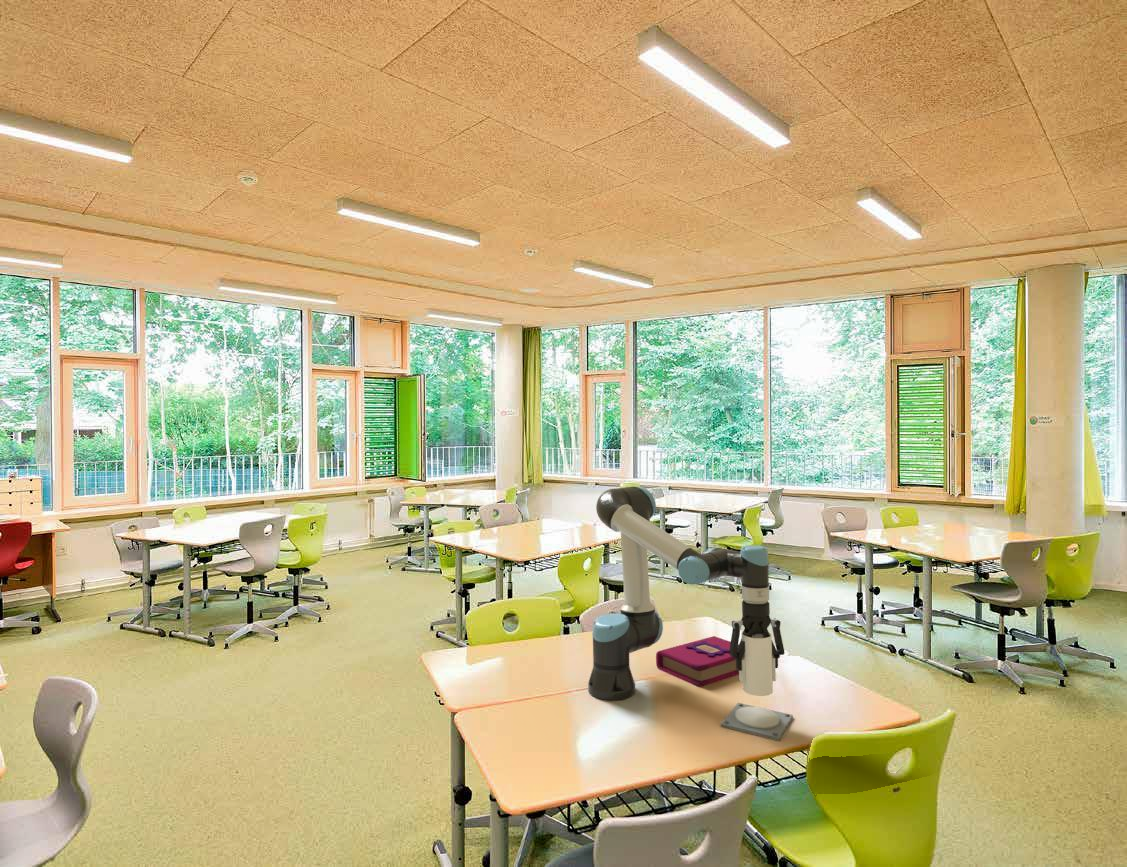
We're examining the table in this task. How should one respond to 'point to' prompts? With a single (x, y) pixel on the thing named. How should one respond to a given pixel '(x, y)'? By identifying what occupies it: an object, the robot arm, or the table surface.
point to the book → (699, 661)
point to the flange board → (757, 721)
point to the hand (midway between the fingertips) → (757, 680)
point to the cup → (758, 665)
